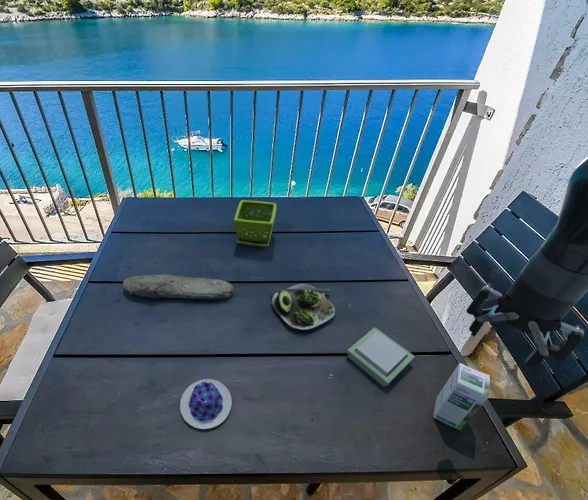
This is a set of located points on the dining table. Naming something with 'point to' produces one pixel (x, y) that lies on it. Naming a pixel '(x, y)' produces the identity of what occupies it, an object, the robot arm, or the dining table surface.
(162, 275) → the elongated rock
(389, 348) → the pan
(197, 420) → the pudding
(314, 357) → the dining table surface
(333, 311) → the salad plate
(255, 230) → the flower pot
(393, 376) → the scale
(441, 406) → the syrup box
